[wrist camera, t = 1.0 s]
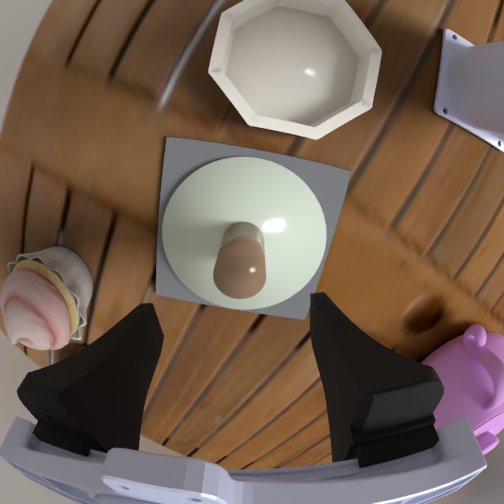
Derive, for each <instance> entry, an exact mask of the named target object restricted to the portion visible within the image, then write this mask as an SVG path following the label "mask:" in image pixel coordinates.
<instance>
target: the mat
mask: <svg viewBox="0 0 504 504" xmlns="http://www.w3.org/2000/svg"><path fill="white" fill-rule="evenodd" d="M235 156H250V157H259V158H263V159H267V160H271V161H273V162H275V163H278V164H280V165H282V166H284V167H286V168H287V169H289V170H291V171H292V172H294V173H295V174H296V175H297V176H299V177H300V178H301V179H302V180H303V181H304V182H305V183H306V184H307V185H308V187H309V188H310V189H311V191H312V192H313V194H314V195H315V196H316V198H317V200H318V202H319V204H320V206H321V209H322V212H323V214H324V218H325V223H326V235H327V237H326V247H325V251H324V255H323V258H322V260H321V263H320V265H319V267H318V269H317V271H316V273H315V274H314V275H313V277H312V278H311V280H310V281H309V282H308V283H307V284H306V285H305V286H304V287H303V288H302V289H301V290H300V291H298V292H297V293H296V294H294V295H293V296H291V297H290V298H288V299H286V300H284V301H282V302H280V303H278V304H275V305H272V306H269V307H264V308H260V309H250V310H241V309H235V310H241V311H247V312H253V313H260V314H267V315H273V316H280V317H287V318H295V319H302V320H305V319H306V316H307V314H308V311H309V308H310V293H315V291H316V288H317V285H318V282H319V279H320V276H321V273H322V270H323V267H324V264H325V261H326V258H327V255H328V252H329V248H330V245H331V242H332V239H333V236H334V232H335V229H336V226H337V222H338V219H339V215H340V212H341V209H342V205H343V201H344V198H345V194H346V191H347V187H348V183H349V179H350V176H351V172H352V171H350V170H347V169H343V168H339V167H335V166H332V165H328V164H324V163H319V162H315V161H311V160H307V159H302V158H298V157H293V156H289V155H284V154H279V153H274V152H269V151H264V150H259V149H253V148H248V147H242V146H236V145H230V144H223V143H217V142H210V141H203V140H195V139H187V138H179V137H169V136H168V137H167V139H166V147H165V155H164V163H163V173H162V183H161V193H160V206H159V220H158V237H157V261H156V295H160V296H165V297H170V298H175V299H180V300H185V301H190V302H195V303H201V304H206V305H212V306H217V307H222V306H219V305H216V304H213V303H211V302H209V301H207V300H204V299H203V298H201V297H199V296H198V295H196V294H195V293H193V292H192V291H191V290H190V289H188V288H187V287H186V286H185V285H184V284H183V283H182V282H181V281H180V279H179V278H178V277H177V276H176V274H175V273H174V271H173V269H172V268H171V266H170V264H169V262H168V259H167V257H166V254H165V250H164V247H163V240H162V225H163V218H164V214H165V211H166V207H167V205H168V203H169V201H170V199H171V197H172V195H173V194H174V192H175V191H176V189H177V188H178V187H179V186H180V185H181V183H182V182H183V181H184V180H185V179H186V178H188V177H189V176H190V175H191V174H192V173H193V172H195V171H196V170H198V169H200V168H201V167H203V166H205V165H207V164H209V163H211V162H213V161H217V160H220V159H223V158H229V157H235ZM223 308H227V307H223ZM229 309H232V308H229Z"/></svg>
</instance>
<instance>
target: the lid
mask: <svg viewBox="0 0 504 504" xmlns="http://www.w3.org/2000/svg"><path fill="white" fill-rule="evenodd" d="M326 237H327V235H326V223H325V218H324V214H323V212H322V209H321V206H320V204H319V202H318V200H317V198H316V196H315V195H314V194H313V192H312V191H311V189H310V188H309V187H308V185H307V184H306V183H305V182H304V181H303V180H302V179H301V178H300V177H299V176H297V175H296V174H295V173H294V172H292V171H291V170H289V169H287V168H286V167H284V166H282V165H280V164H278V163H275V162H273V161H271V160H267V159H263V158H259V157H250V156H235V157H229V158H223V159H220V160H217V161H213V162H211V163H209V164H207V165H205V166H203V167H201V168H200V169H198V170H196V171H195V172H193V173H192V174H191V175H190V176H189V177H188V178H186V179H185V180H184V181H183V182H182V183H181V185H180V186H179V187H178V188H177V189H176V191H175V192H174V194H173V195H172V197H171V199H170V201H169V203H168V205H167V207H166V211H165V214H164V218H163V225H162V240H163V247H164V250H165V254H166V257H167V259H168V262H169V264H170V266H171V268H172V269H173V271H174V273H175V274H176V276H177V277H178V278H179V279H180V281H181V282H182V283H183V284H184V285H185V286H186V287H187V288H188V289H190V290H191V291H192V292H193V293H195V294H196V295H198V296H199V297H201V298H203V299H204V300H207V301H209V302H211V303H213V304H216V305H219V306H222V307H227V308H232V309H241V310H250V309H260V308H264V307H269V306H272V305H275V304H278V303H280V302H282V301H284V300H286V299H288V298H290V297H291V296H293V295H294V294H296V293H297V292H298V291H300V290H301V289H302V288H303V287H304V286H305V285H306V284H307V283H308V282H309V281H310V280H311V278H312V277H313V275H314V274H315V273H316V271H317V269H318V267H319V265H320V263H321V260H322V258H323V255H324V251H325V247H326Z"/></svg>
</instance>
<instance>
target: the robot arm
mask: <svg viewBox="0 0 504 504" xmlns="http://www.w3.org/2000/svg"><path fill="white" fill-rule="evenodd" d="M452 36H453V37H454V39H455V40H454V39H453V37H452ZM443 109H445V114H444V112H443ZM434 111H435V113H436V114H438V115H440V116H442V117H444V118H446V119H448V120H449V121H451V122H453V123H455V124H457V125H459V126H461V127H462V128H464V129H466V130H468V131H469V132H471V133H473V134H474V135H476V136H478V137H479V138H481V139H483V140H484V141H486V142H487V143H489V144H491V145H492V146H494V147H495V148H497V149H498V150H500V151H501V152H503V153H504V41H501V42H494V43H487V44H481V45H475V46H474V45H473V44H471V43H470V42H468V41H467V40H465V39H464V38H462V37H461V36H459V35H458V34H456V33H454V32H453V31H451V30H449V29H446V30H444V31H443V41H442V52H441V61H440V70H439V77H438V84H437V90H436V96H435V102H434ZM310 334H311V340H312V347H313V351H314V355H315V358H316V362H317V365H318V369H319V373H320V376H321V380H322V384H323V387H324V392H325V398H326V405H327V412H328V420H329V428H330V438H331V448H332V462H333V463H328V464H320V465H313V466H304V467H293V468H280V469H256V470H230V469H224V468H222V467H221V466H220V465H218V464H216V463H213V462H210V461H207V460H203V459H197V458H191V457H181V456H171V455H163V454H156V453H149V452H142V451H139V440H140V430H141V423H142V416H143V411H144V405H145V400H146V396H147V393H148V389H149V386H150V383H151V381H152V378H153V375H154V372H155V369H156V366H157V363H158V360H159V357H160V354H161V350H162V345H163V339H164V335H163V332H162V329H161V326H160V323H159V321H158V318H157V315H156V312H155V309H154V306H153V303H145V304H140V305H139V306H137V307H136V308H135V309H134V310H132V311H131V312H130V313H129V314H128V315H126V316H125V317H124V318H123V319H122V320H121V321H119V322H118V323H117V324H116V325H115V326H114V327H112V328H111V329H110V330H109V331H107V332H106V333H105V334H103V335H102V336H101V337H100V338H98V339H97V340H96V341H94V342H93V343H91V344H90V345H88V346H87V347H85V348H84V349H82V350H81V351H79V352H77V353H75V354H73V355H71V356H70V357H68V358H66V359H64V360H62V361H60V362H57V363H55V364H53V365H50V366H47V367H45V368H42V369H39V370H35V371H32V372H29V373H28V374H27V375H26V377H25V378H24V380H23V381H22V383H21V385H20V386H19V388H18V389H17V394H18V397H19V399H20V400H21V401H22V403H23V404H24V406H25V407H26V408H27V409H28V410H29V411H30V413H31V414H32V415H33V416H34V417H35V418H36V419H37V420H38V422H37V424H36V426H35V425H34V424H33V423H31V422H29V421H27V420H24V419H22V418H19V417H16V418H15V419H14V421H13V423H12V425H11V427H10V429H9V431H8V433H7V435H6V437H5V439H4V441H3V443H2V445H1V447H0V456H1V457H2V458H3V459H5V460H6V461H7V462H8V463H9V464H11V465H12V466H13V467H14V468H16V469H17V470H18V471H20V472H21V473H22V474H24V475H25V476H26V477H28V478H29V479H31V480H32V481H34V482H36V483H38V484H40V485H42V486H44V487H46V488H48V489H50V490H52V491H54V492H56V493H58V494H60V495H62V496H64V497H66V498H68V499H70V500H73V501H75V502H77V503H79V504H427V503H429V502H431V501H434V500H436V499H439V498H441V497H443V496H446V495H448V494H450V493H452V492H454V491H456V490H458V489H459V488H461V487H462V486H463V485H465V484H466V483H467V482H469V481H470V480H471V479H473V478H474V477H475V476H476V475H478V474H479V473H480V472H481V471H482V470H484V469H485V468H486V467H487V463H486V460H485V458H484V456H483V453H482V451H481V448H480V446H479V443H478V441H477V439H476V437H475V434H474V432H473V430H472V428H471V425H470V423H469V421H468V419H467V417H464V418H462V419H459V420H457V421H454V422H452V423H449V424H446V425H444V426H442V427H440V428H439V429H437V430H435V427H434V425H433V424H435V422H436V419H435V417H434V414H433V412H434V411H435V409H436V408H437V406H438V404H439V403H440V401H441V399H442V397H443V394H444V386H443V384H442V382H441V380H440V378H439V376H438V374H437V373H436V371H435V370H434V368H433V367H431V366H428V365H425V364H422V363H419V362H416V361H414V360H411V359H409V358H407V357H404V356H402V355H400V354H398V353H396V352H394V351H392V350H390V349H389V348H387V347H385V346H383V345H382V344H380V343H379V342H377V341H376V340H374V339H373V338H371V337H370V336H369V335H367V334H366V333H364V332H363V331H362V330H361V329H360V328H359V327H357V326H356V325H355V324H354V323H353V322H352V321H351V320H350V319H349V318H348V317H347V316H346V315H345V314H344V313H343V312H342V311H341V310H340V309H339V308H338V307H337V306H336V305H335V304H334V303H333V301H332V300H331V299H330V298H329V297H328V296H327V294H326V293H324V292H320V293H310Z"/></svg>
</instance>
